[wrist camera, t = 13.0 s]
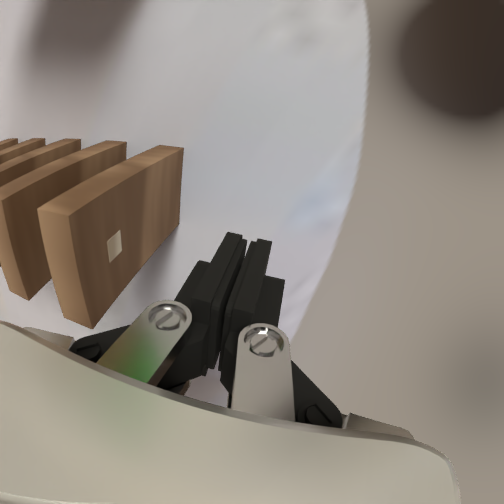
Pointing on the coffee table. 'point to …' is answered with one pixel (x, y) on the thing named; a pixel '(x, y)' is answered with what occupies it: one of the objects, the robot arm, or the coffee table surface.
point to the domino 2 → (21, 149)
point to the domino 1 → (8, 143)
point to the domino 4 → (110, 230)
